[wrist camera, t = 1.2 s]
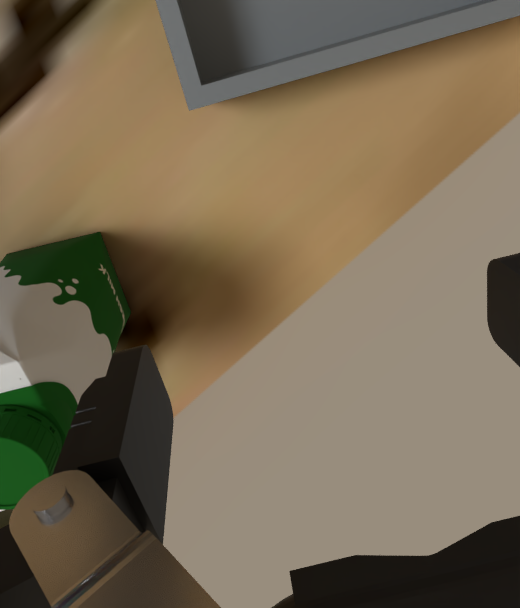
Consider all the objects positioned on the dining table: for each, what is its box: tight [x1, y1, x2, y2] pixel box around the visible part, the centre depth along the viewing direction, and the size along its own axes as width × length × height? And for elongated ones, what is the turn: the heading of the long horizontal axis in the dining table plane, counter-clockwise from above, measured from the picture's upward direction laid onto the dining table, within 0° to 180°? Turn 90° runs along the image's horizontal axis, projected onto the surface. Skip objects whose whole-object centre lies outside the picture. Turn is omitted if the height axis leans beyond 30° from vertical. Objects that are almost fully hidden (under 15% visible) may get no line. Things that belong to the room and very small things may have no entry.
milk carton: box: [0, 232, 131, 511], centre depth 28 cm, size 9×9×20 cm
